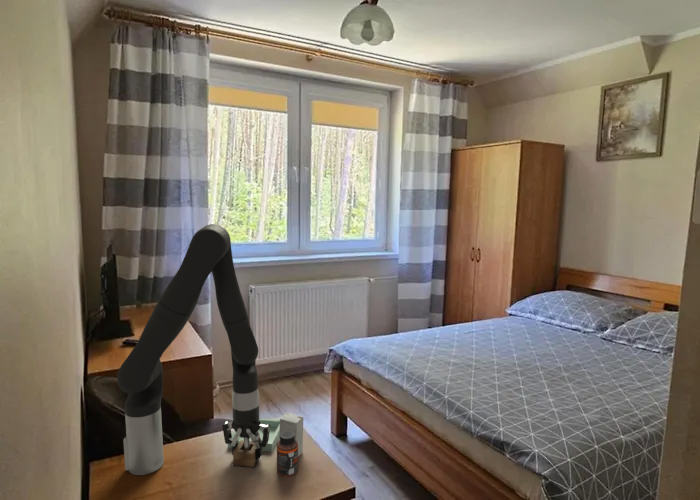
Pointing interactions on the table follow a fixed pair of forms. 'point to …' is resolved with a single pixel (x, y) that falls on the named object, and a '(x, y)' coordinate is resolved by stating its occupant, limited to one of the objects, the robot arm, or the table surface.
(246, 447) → the plate with metal peg
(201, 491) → the table surface
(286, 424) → the skincare box
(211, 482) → the table surface
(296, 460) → the supplement bottle
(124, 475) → the table surface
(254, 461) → the ring
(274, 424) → the tray
